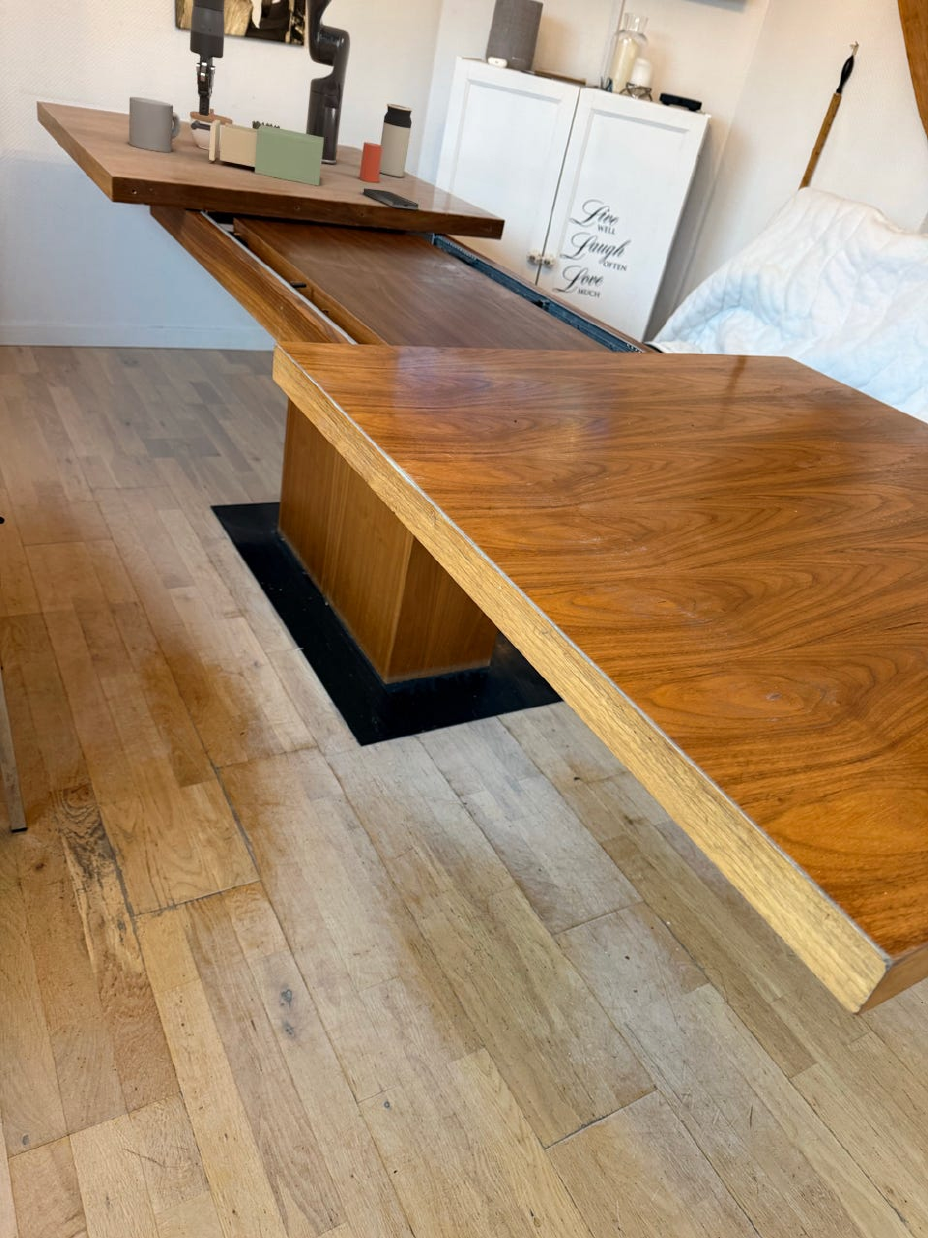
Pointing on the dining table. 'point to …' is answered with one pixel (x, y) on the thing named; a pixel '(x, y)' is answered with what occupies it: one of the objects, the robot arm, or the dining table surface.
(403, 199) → the phone
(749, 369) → the dining table surface
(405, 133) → the travel mug
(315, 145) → the cabinet
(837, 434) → the dining table surface
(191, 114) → the lidded white pot
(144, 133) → the coffee mug
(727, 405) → the dining table surface
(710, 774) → the dining table surface
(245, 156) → the drawer
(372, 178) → the tea tin
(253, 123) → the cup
